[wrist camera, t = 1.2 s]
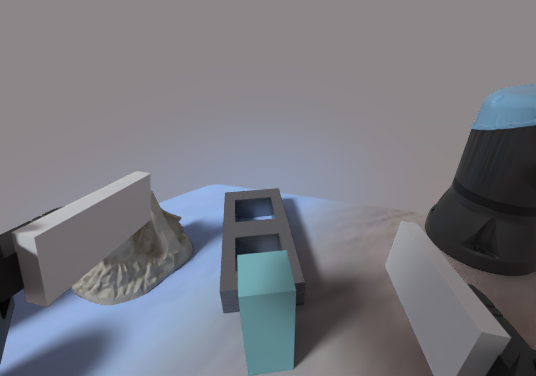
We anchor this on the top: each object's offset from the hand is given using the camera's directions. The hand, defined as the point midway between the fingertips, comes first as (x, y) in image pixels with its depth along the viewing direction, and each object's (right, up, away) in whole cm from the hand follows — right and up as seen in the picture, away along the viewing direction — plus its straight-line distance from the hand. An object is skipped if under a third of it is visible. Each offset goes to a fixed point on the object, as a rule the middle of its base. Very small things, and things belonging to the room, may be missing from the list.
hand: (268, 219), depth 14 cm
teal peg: (0, -16, +15) cm, 22 cm away
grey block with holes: (-2, -8, +29) cm, 30 cm away
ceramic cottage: (-21, -10, +28) cm, 36 cm away
